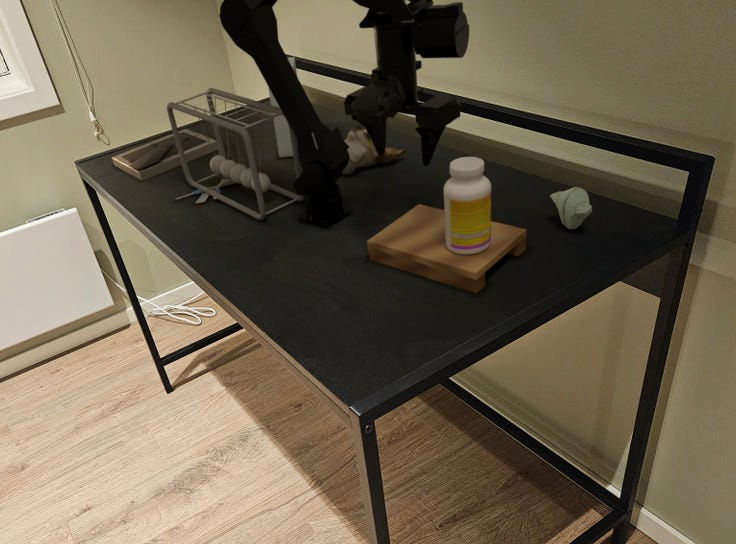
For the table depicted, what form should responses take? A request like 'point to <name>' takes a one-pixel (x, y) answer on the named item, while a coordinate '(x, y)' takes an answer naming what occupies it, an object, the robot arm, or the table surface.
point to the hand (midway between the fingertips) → (403, 160)
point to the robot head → (572, 206)
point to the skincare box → (282, 125)
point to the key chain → (205, 196)
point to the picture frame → (163, 154)
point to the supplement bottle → (467, 207)
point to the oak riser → (440, 249)
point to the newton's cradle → (229, 167)
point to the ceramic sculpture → (365, 151)
